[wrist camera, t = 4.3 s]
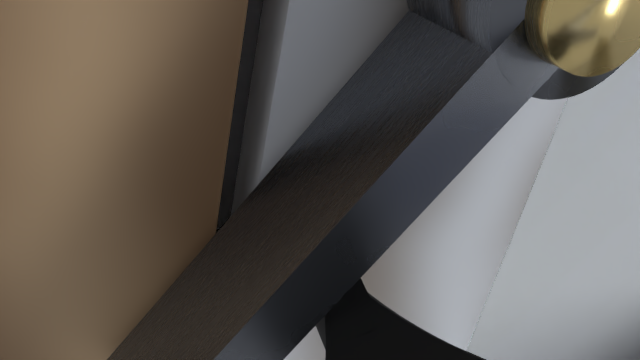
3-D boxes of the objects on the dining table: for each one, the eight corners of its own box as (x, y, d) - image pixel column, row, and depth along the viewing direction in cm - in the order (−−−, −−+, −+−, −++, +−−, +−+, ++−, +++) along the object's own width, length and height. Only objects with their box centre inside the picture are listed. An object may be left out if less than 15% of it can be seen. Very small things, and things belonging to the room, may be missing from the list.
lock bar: (491, -161, 10) (647, -168, 7) (572, -38, 12) (726, -3, 9) (57, 355, 13) (42, 508, 10) (176, 397, 14) (194, 538, 11)
